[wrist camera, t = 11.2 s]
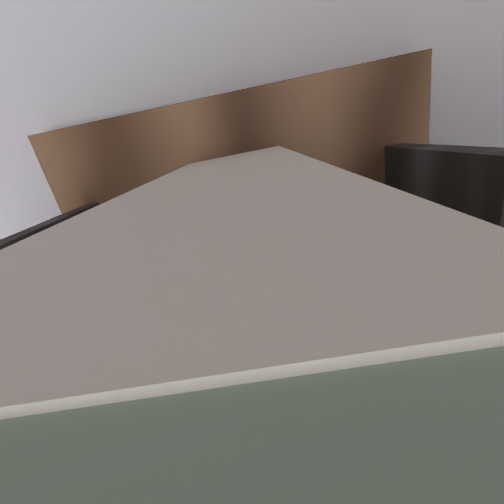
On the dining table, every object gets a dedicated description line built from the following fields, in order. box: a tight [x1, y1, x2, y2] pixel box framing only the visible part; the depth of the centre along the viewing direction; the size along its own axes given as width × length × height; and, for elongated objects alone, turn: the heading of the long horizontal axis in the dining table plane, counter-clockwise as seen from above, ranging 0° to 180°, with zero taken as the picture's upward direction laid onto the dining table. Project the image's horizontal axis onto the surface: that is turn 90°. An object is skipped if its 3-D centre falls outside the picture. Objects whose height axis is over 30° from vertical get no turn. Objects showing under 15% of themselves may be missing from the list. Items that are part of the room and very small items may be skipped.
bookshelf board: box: [0, 49, 504, 250], centre depth 13 cm, size 18×17×8 cm
